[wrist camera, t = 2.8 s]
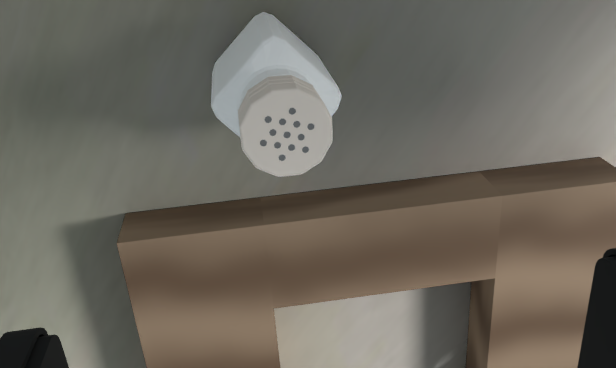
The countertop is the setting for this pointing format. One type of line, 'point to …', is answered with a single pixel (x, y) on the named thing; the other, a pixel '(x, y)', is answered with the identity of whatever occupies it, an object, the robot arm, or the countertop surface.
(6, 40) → the countertop surface
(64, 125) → the countertop surface
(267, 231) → the wooden frame with handle
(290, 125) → the pepper shaker
